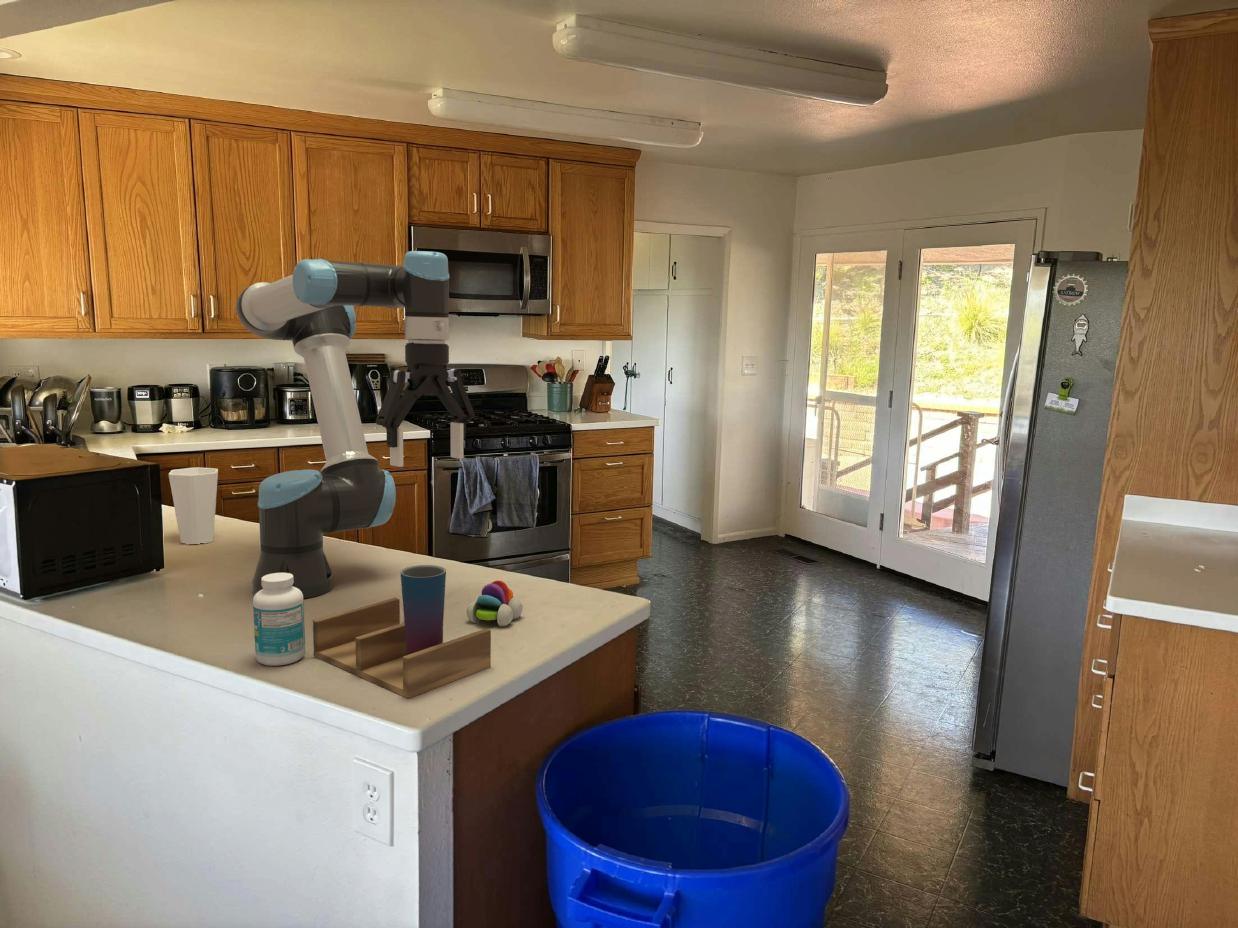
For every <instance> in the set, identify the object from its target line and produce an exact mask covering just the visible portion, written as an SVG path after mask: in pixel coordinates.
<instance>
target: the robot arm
mask: <svg viewBox="0 0 1238 928" xmlns="http://www.w3.org/2000/svg"><path fill="white" fill-rule="evenodd" d="M450 278H451V277H450V273H449V260H448V256H447V255H446V254H445V253H442V252H439V251H425V250H423V251H422V250H410V251H407V252H406V253H405V255H404V258H403V264H402V265H401V264H400V265H399V264H398V265H395V264H393V265H392V264H383V263H382V264H381V263H365V262H349V261H339V260H328V259H323V258H314V259H301V260H299V261H298V262H297V263H296V265H295V267H294V270H293V274H291V275H288V276H285V277H282V278H280V279H278V280H276V281H273V282H267V281H266V282H265V281H261V282H256V283H253V284H252V285H249V286H247V287H246V288H245V289H243V290H242V291H241V292H240V294H239V295H238V297H237V299H236V303H235V311H236V316H237V318H238V320H239V322H240V323H241V325H242V326H243V328H245V329H246V330H248V331H249V332H250V333H252V334H253V335H256V336H258V337H260V338H263V339H267V340H272V341H291V342H292V345H293V351H294V353H296V354H297V355H299V356H300V357H302V358H303V360H304V365H305V370H306V375H307V379H308V383H309V388H310V392H311V393H310V394H311V397H312V402H313V406H314V411H315V415H316V421H317V425H318V430H319V434H320V438H321V443H322V448H323V452H324V456H325V464H324V465H323V467H321V470H320V471H319V470H317V469H312V468H311V469H310V468H309V469H308V468H307V469H301V470H300V469H295V470H289V471H283V472H279V473H276V474H273V475H270V476H268V477H265V478H264V479H263V480H262V481H261V482H260V484H259V485H258V501H257V507H258V514H259V515H258V516H259V517H258V518H259V519H258V522H259V541H260V544H259V545H260V555H259V558H258V561H257V565H256V567H255V571H254V575H253V578H252V582H251V586H252V587H251V589H252V594H253V596H255V594H256V593H257V592H259V591H260V590H262V589H263V587H262V585H261V579H262V577H263V576H265V575H268V574H272V573H290V574H292V575H293V579H294V583H293V585H292V586H293V587H296V588H298V589H299V590H300V591H301V592H302V594H303V599H308V598H309V599H310V598H314V597H317V596H320V595H324V594H326V593H328V592H330V591H331V590H332V589H333V588H334V576H333V575H334V574H333V571H332V570H331V567H330V564H329V562H328V559H327V557H326V553H325V551H324V537H323V536H324V534H326V535H327V534H332V533H341V532H345V531H353V530H354V531H355V530H360V529H361V530H363V529H364V530H367V529H370V528H373V527H378V526H382V525H384V524H385V523H387V522H388V521H389V520H390V519H391V518H392V517H391V516H392V514H393V512H394V510H395V509H394V508H395V505H396V496H397V495H396V492H397V491H396V485H395V480H394V477H393V475H391V473H390V471H388V470H385V469H380V466H379V460H378V459H377V458H376V457H374V456H372V454H369V450H368V446H367V442H366V438H365V433H364V432H365V431H364V429H363V425H362V420H361V416H360V410H359V408H358V404H357V403H358V402H357V398H356V394H355V390H354V385H353V381H352V376H351V372H350V367H349V364H348V359H347V354H346V350H347V349H348V347H349V346H350V344H351V339H352V338H353V337H354V335H355V334H356V329H357V325H356V321H357V318H356V312H355V308H354V306H355V307H371V308H372V307H375V308H376V307H377V308H385V309H386V308H387V309H400V308H401V309H402V308H404V339H405V340H408V341H407V343H405V346H404V359H405V360H404V361H405V363H406V365H407V369H406V371H404V370H397V369H396V370H395V369H394V370H391V373H390V383H389V386H388V388H387V390H386V393H385V396H384V399H383V402H382V404H381V406H380V409H379V411H378V414H377V416H376V418H375V424H376V425H378V426H382V428H385V429H386V430H385V431H386V446H387V448H389V465H390V466H393V467H398V468H403V467H404V429H403V428H400V426H401V424H402V423H403V421H404V420H405V418H406V416H407V415H408V414H409V412H410V411H411V409H412V407H413V406H414V404H415V403H416V401H417V400H418V399H420V398H421V397H426V396H427V397H428V396H436V397H437V398H438V399H439V400H440V402H441V403H442V404H443V406H444V408H445V409H446V410H447V412H448V413H449V415H450V416H451V418H452V419H453V420H454V421H453V422H450V458H454V459H458V460H461V459H464V458H465V456H464V440H466V437H467V436H466V435H467V434H466V433H467V428H466V427H467V426H466V425H467V424H469V423H470V422H471V419H474V418H475V416H476V414H475V411H474V409H473V405H472V404H471V401H470V398H469V396H468V393H467V390H466V388H465V386H464V382H463V378H462V377H463V376H462V370H461V369H457V368H448V367H447V365H449V363H450V346H449V345H448V344H447V343H446V341H447V342H448V340H449V337H450V335H449V333H450V332H449V330H450V328H449V326H450V325H449V323H450V322H449V311H450V305H449V304H450V302H449V300H450V298H449V297H450ZM447 368H448V369H447ZM447 382H448V384H447ZM406 383H408V384H407V385H406ZM405 385H406V387H405Z"/></svg>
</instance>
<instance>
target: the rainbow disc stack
mask: <svg viewBox="0 0 1238 928" xmlns="http://www.w3.org/2000/svg"><path fill="white" fill-rule="evenodd" d="M523 610H524V608H523V604H522V602H521V600H520V599H518V598H517V597H514V592H513V591H512V589H510V588H509V587H508V585H507V584H506V582H504V581H502V580H494V581H492V582H491V583H488V584H486V585H484V586H483V587H482V590H481V595H478V597H477V599H476V600H474V601H472V602H470V603H469V605H468V606H467V608H466V617H467V619H468V620H469V621H470V622H472V623H474V624H476V623H478V622H480V620H484V621H495V620H497V624H498V626H499V627H500V628H501V627H502V628H503V627H506V626H508V625H509V624H510V623H511V622H512V621H514V620H516V619H519V617H520V616H521V615H522V613H523Z"/></svg>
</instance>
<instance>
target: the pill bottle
mask: <svg viewBox="0 0 1238 928" xmlns="http://www.w3.org/2000/svg"><path fill="white" fill-rule="evenodd" d="M293 583H294V579H293V575H292V574H290V573H272V574H268V575H265V576H263V577H262V579H261V585H262V587H263V589H262V590H260V591H259V592H257V593H256V594H255V595H253V598H252V612H253V630H254V631H253V633H254V652H255V653H254V654H255V655H254V656H255V659H256V661H257V662H258V663H260V664H261V665H265V666H271V667H274V666H275V667H277V666H279V667H280V666H285V665H290V664H294V663H296V662H298V661H299V660H301V659H302V658H303V657H304V656H305V654H306V637H305V636H306V633H305V630H306V629H305V608H304V607H305V606H304V604H305V603H304V598H303V594H302V592H301V591H300V590H299V589H298V588H296V587H293V586H292V585H293Z"/></svg>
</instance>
